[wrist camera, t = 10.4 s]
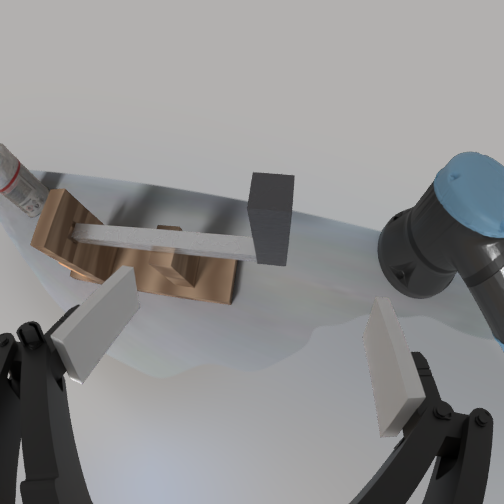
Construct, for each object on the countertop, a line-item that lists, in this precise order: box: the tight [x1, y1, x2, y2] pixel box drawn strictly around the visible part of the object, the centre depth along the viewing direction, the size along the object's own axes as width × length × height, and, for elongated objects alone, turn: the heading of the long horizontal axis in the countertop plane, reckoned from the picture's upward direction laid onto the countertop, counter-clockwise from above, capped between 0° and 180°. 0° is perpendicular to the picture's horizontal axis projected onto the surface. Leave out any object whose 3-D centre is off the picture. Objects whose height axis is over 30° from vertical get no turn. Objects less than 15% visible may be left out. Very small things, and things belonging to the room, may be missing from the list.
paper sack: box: [0, 144, 49, 217], centre depth 45 cm, size 8×8×20 cm
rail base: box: [30, 189, 238, 305], centre depth 38 cm, size 30×8×19 cm, turn 83°
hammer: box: [72, 173, 294, 266], centre depth 27 cm, size 28×3×13 cm, turn 83°
